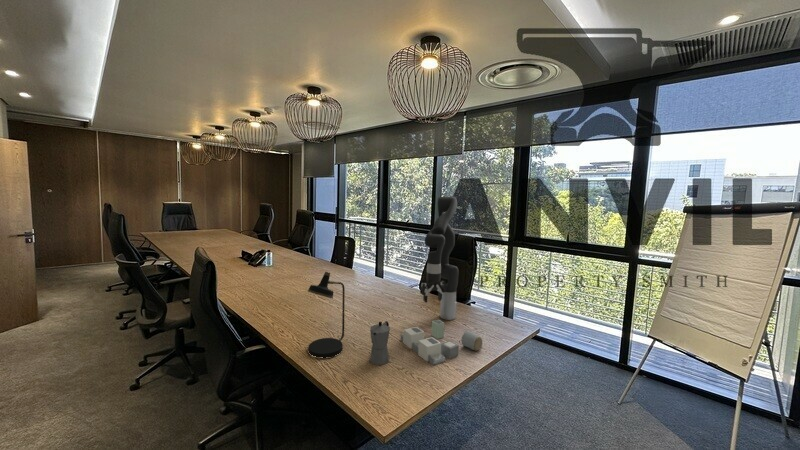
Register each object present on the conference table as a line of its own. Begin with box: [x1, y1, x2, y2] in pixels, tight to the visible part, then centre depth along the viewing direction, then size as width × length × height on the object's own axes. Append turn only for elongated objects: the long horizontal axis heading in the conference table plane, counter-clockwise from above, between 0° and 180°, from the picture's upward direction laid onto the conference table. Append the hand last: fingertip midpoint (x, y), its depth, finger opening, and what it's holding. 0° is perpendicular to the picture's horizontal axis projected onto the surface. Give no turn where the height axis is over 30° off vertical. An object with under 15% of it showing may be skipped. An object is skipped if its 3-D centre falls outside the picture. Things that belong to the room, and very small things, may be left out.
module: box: [431, 319, 445, 340], centre depth 168 cm, size 4×5×8 cm
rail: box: [400, 333, 446, 366], centre depth 153 cm, size 7×28×3 cm, turn 31°
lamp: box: [307, 271, 346, 358], centre depth 150 cm, size 16×22×38 cm
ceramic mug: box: [461, 330, 483, 352], centre depth 158 cm, size 11×8×8 cm
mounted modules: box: [402, 326, 442, 362], centre depth 153 cm, size 8×20×7 cm, turn 31°
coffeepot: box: [369, 320, 391, 366], centre depth 143 cm, size 15×9×18 cm, turn 159°
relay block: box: [441, 340, 460, 360], centre depth 150 cm, size 6×6×5 cm
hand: (432, 301), depth 168 cm, fingers open, 8 cm apart
